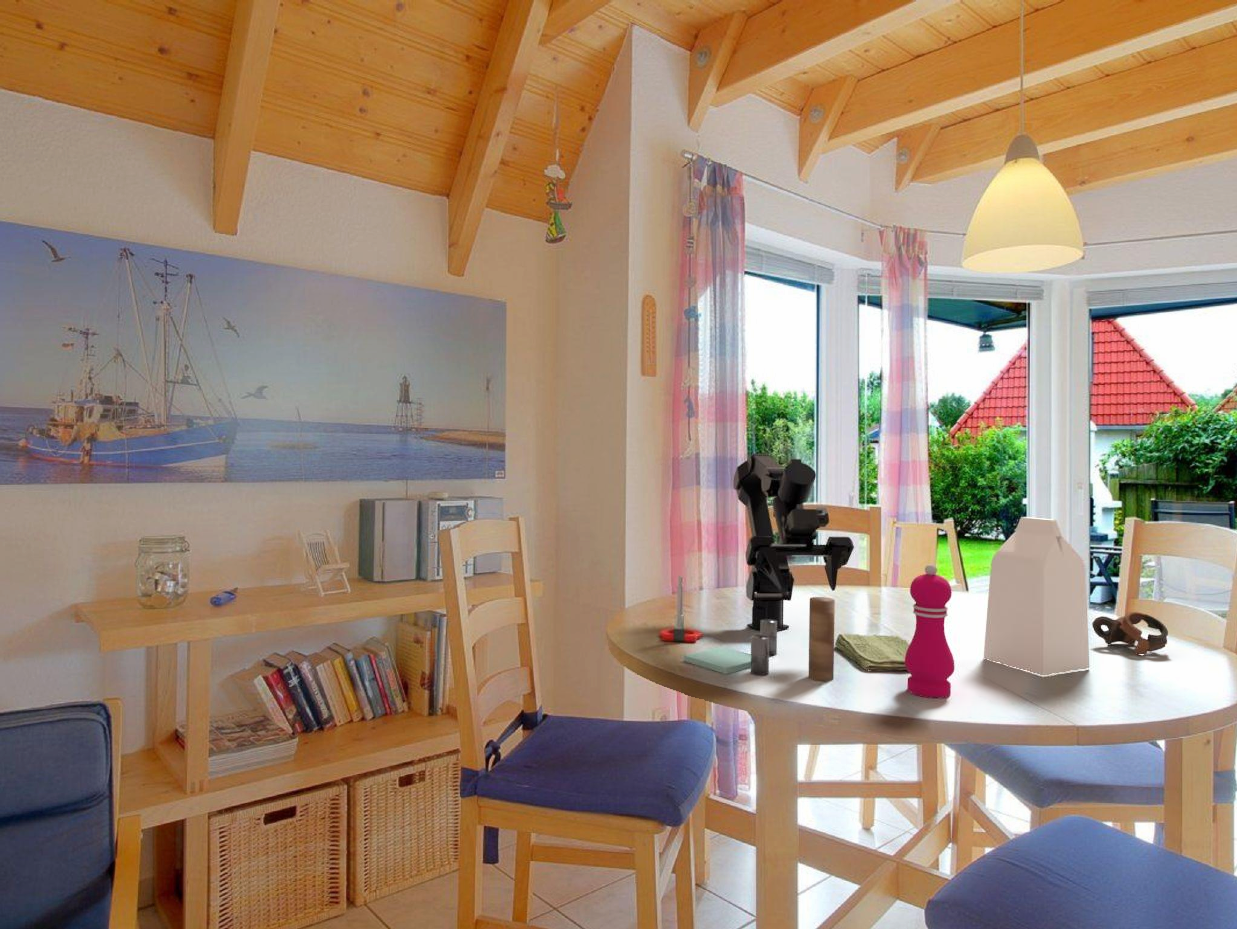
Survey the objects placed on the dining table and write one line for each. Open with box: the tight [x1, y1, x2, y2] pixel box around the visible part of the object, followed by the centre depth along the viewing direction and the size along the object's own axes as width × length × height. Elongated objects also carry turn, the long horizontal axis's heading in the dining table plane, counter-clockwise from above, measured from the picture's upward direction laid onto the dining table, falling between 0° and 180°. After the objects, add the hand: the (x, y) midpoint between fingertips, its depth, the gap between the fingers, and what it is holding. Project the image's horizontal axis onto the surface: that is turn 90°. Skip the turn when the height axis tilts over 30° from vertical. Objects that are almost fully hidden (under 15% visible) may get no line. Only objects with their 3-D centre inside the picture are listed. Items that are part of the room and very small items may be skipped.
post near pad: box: [750, 634, 770, 676], centre depth 128 cm, size 3×3×6 cm
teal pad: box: [683, 646, 751, 675], centre depth 134 cm, size 10×10×1 cm
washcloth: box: [834, 633, 910, 672], centre depth 138 cm, size 13×18×3 cm
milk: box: [983, 516, 1090, 675], centre depth 135 cm, size 12×12×26 cm
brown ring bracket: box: [1091, 611, 1169, 655], centre depth 146 cm, size 12×10×8 cm
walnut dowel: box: [808, 596, 836, 682], centre depth 126 cm, size 4×4×13 cm
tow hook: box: [659, 575, 703, 643], centre depth 153 cm, size 8×13×9 cm
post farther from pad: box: [759, 619, 778, 657], centre depth 141 cm, size 3×3×6 cm
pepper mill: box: [905, 563, 955, 698], centre depth 119 cm, size 7×7×20 cm
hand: (808, 589), depth 133 cm, fingers open, 9 cm apart
